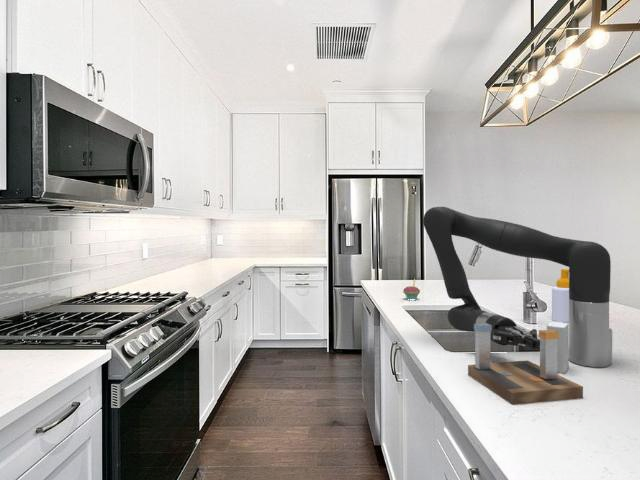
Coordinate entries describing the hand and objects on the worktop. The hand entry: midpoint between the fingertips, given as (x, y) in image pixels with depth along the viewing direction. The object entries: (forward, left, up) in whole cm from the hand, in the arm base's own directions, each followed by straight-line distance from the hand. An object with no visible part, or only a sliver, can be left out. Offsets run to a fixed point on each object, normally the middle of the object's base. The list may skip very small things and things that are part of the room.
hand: (538, 345), depth 97 cm
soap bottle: (-56, -57, -10) cm, 81 cm away
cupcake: (-15, -115, -10) cm, 117 cm away
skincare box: (-12, -8, -10) cm, 17 cm away
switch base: (+5, 0, -9) cm, 10 cm away
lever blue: (+11, -6, -7) cm, 14 cm away
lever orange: (0, +3, -7) cm, 7 cm away
